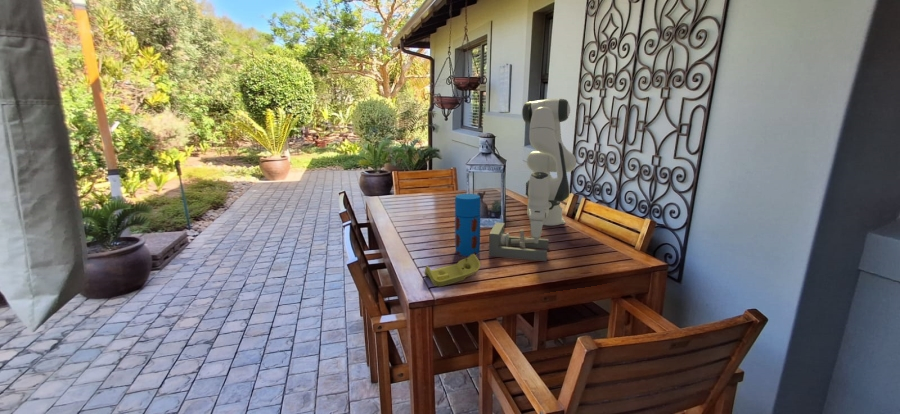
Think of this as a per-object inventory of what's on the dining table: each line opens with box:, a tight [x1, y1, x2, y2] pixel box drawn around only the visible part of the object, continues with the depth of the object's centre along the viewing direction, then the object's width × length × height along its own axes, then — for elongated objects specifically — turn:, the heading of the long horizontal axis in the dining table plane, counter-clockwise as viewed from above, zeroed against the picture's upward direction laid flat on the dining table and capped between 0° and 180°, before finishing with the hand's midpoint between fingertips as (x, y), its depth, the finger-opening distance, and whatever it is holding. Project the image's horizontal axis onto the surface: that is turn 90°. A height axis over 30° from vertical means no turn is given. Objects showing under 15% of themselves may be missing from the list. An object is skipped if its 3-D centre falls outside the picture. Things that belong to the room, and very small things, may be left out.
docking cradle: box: [488, 222, 549, 262], centre depth 173 cm, size 17×24×10 cm
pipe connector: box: [511, 229, 534, 249], centre depth 173 cm, size 10×10×10 cm
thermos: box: [454, 193, 482, 257], centre depth 172 cm, size 11×11×25 cm
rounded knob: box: [501, 232, 510, 247], centre depth 176 cm, size 6×7×6 cm
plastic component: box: [424, 254, 481, 288], centre depth 148 cm, size 20×7×10 cm
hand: (536, 242), depth 171 cm, fingers closed, pressing on pipe connector
